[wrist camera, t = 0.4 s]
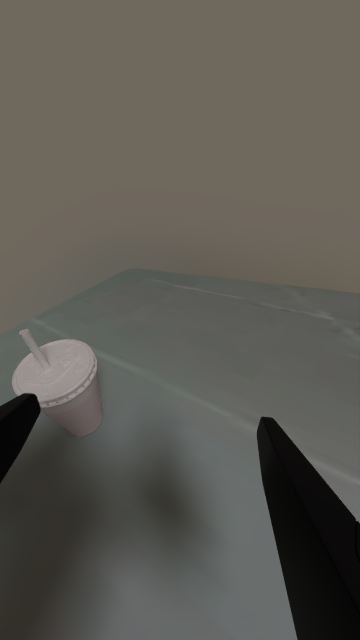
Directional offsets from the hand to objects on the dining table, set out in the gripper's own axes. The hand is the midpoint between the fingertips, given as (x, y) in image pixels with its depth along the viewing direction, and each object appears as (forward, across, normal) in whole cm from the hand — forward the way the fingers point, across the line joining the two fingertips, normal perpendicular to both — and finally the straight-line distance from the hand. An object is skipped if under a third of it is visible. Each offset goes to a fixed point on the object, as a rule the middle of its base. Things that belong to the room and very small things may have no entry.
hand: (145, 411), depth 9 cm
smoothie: (+10, +10, +15) cm, 20 cm away
